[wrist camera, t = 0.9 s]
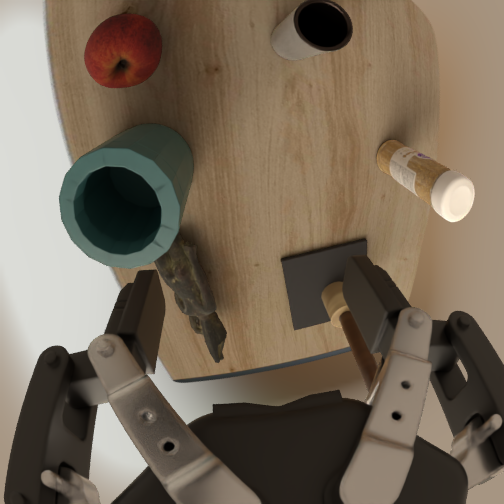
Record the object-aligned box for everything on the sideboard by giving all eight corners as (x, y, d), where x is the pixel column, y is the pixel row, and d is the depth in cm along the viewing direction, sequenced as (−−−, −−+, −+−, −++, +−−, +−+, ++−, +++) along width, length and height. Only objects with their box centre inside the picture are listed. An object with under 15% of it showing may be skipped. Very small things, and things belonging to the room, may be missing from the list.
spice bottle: (403, 137, 30) (478, 174, 19) (405, 170, 33) (473, 218, 21) (372, 141, 30) (444, 181, 19) (376, 176, 33) (440, 228, 22)
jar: (96, 141, 27) (41, 176, 17) (179, 111, 27) (154, 127, 17) (126, 217, 33) (92, 278, 23) (204, 194, 32) (197, 252, 22)
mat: (280, 258, 38) (281, 261, 38) (365, 238, 38) (367, 240, 37) (293, 327, 46) (294, 330, 45) (362, 308, 45) (364, 311, 45)
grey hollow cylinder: (315, 59, 25) (356, 52, 16) (273, 62, 25) (297, 52, 16) (310, 22, 22) (348, 0, 14) (267, 23, 22) (289, -3, 14)
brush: (320, 285, 41) (366, 401, 25) (349, 278, 40) (404, 387, 25) (322, 307, 43) (362, 417, 27) (348, 299, 43) (397, 404, 27)
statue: (153, 230, 37) (210, 344, 44) (134, 246, 32) (201, 369, 39) (194, 215, 35) (247, 338, 43) (179, 231, 30) (242, 364, 38)
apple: (105, 94, 25) (71, 100, 18) (100, 31, 20) (65, 20, 14) (171, 80, 25) (153, 79, 18) (166, 14, 21) (148, -7, 14)
